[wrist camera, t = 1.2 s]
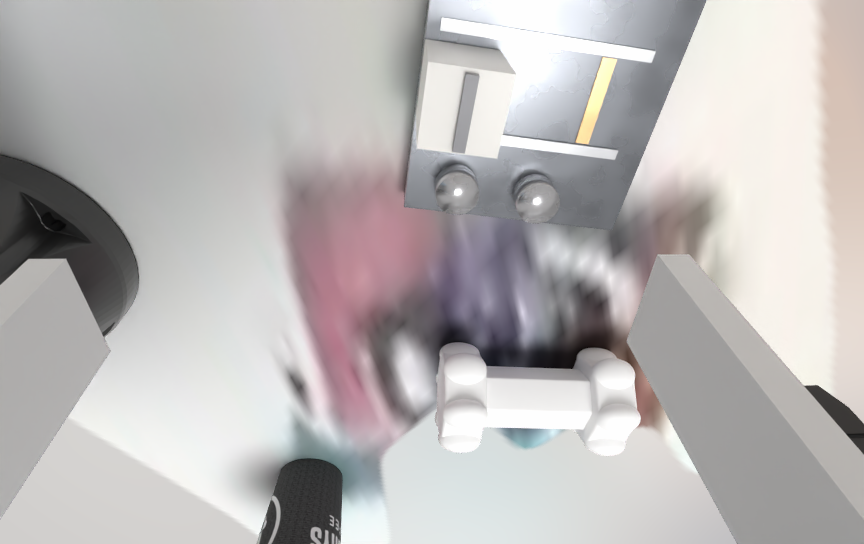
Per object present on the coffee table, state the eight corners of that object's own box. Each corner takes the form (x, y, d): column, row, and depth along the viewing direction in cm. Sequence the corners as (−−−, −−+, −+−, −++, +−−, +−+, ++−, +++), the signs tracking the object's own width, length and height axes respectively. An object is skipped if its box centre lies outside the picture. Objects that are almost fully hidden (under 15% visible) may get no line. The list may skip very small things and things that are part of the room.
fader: (415, 115, 28) (416, 151, 24) (425, 38, 26) (428, 63, 21) (484, 124, 28) (498, 161, 24) (500, 50, 26) (518, 77, 22)
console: (404, 192, 33) (403, 219, 30) (441, -103, 24) (445, -106, 21) (602, 215, 35) (620, 242, 32) (707, -54, 26) (746, -51, 23)
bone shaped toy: (432, 384, 45) (435, 469, 39) (442, 320, 40) (447, 407, 34) (591, 389, 47) (617, 473, 40) (622, 327, 41) (658, 413, 35)
